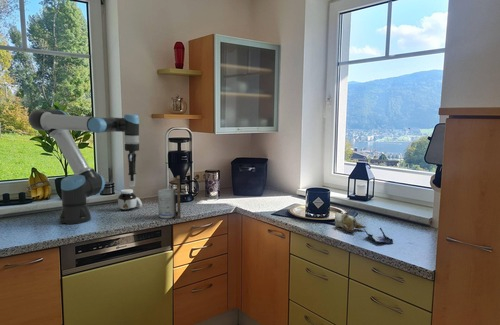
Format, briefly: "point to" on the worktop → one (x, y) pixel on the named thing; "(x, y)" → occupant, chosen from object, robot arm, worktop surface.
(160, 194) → the supplement tub
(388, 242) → the twin peaked rock
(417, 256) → the worktop surface
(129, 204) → the spread jar
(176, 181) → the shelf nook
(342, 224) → the ceramic sculpture
